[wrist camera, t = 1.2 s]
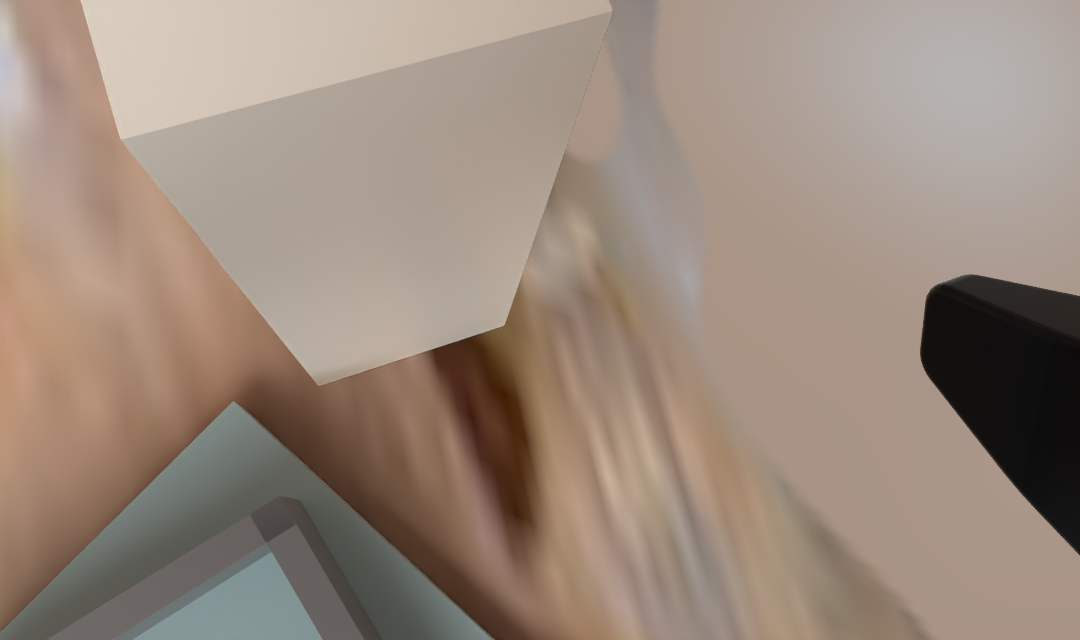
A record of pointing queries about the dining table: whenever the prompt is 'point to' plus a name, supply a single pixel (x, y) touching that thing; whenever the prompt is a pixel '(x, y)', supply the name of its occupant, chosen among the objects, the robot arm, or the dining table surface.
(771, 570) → the dining table surface
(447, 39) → the block
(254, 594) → the socket plate
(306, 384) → the dining table surface
